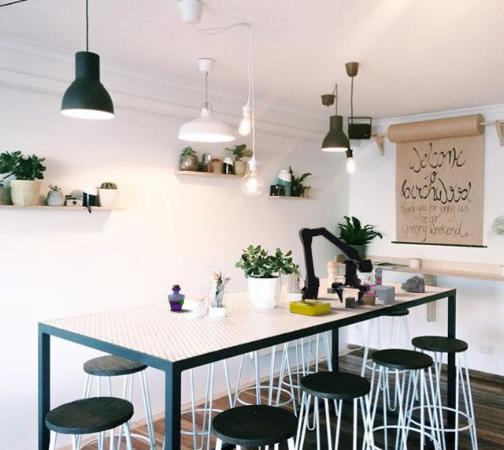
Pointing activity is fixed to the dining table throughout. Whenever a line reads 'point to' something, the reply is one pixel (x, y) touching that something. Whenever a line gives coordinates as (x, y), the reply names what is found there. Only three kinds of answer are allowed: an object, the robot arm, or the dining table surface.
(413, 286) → the mineral rock
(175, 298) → the potion bottle
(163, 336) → the dining table surface
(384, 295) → the cubby
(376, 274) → the candy bar box
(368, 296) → the cube
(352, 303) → the hook tool
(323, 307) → the element tile
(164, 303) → the dining table surface
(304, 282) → the coffee mug
